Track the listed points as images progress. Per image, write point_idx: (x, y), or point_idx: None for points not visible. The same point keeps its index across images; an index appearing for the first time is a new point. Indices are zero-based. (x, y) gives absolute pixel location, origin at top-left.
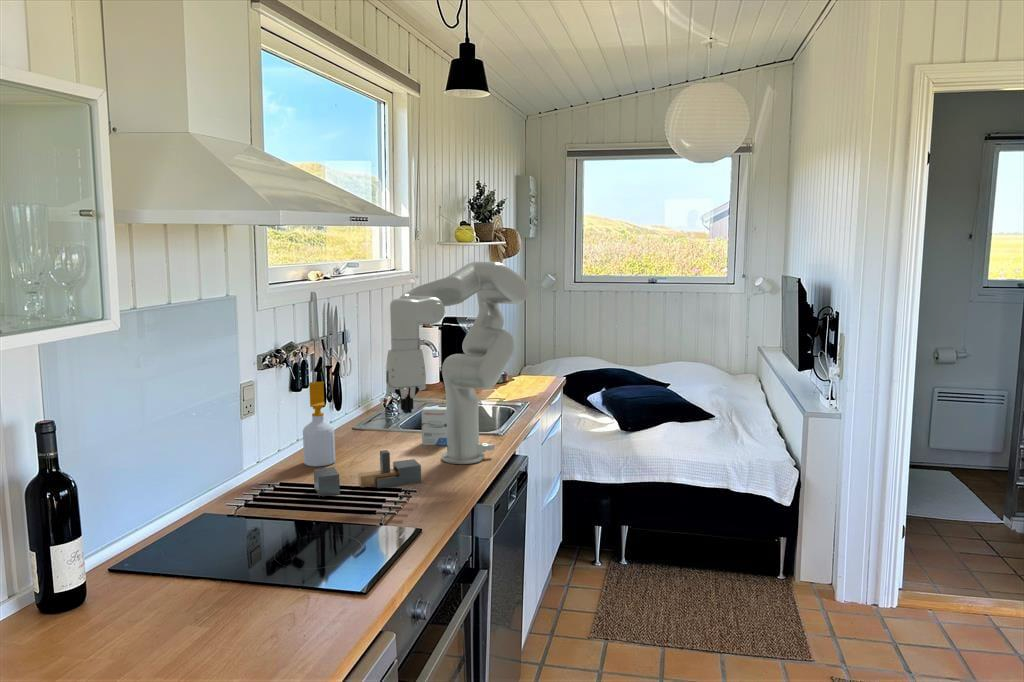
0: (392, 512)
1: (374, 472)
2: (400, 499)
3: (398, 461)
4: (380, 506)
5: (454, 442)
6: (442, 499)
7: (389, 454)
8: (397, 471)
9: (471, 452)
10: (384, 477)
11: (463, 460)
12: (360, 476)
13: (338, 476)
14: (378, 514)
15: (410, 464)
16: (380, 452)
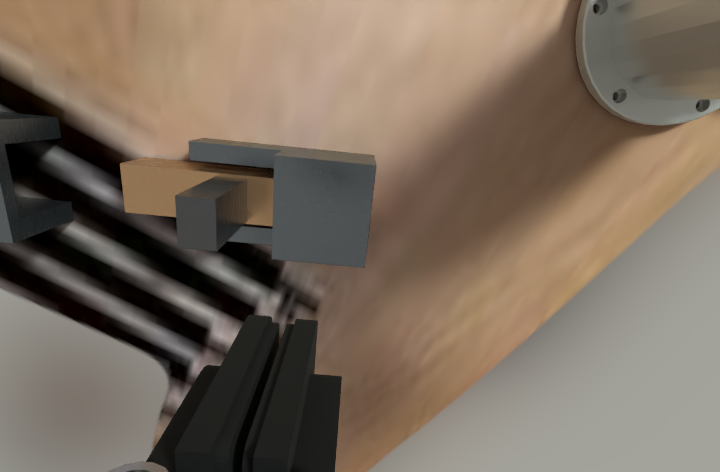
0: None
1: (187, 188)
2: None
3: (298, 165)
4: (182, 375)
5: (677, 53)
6: (358, 402)
7: (218, 248)
8: None
9: (700, 99)
10: None
11: (628, 111)
12: (125, 206)
13: (16, 241)
14: (166, 420)
15: (331, 235)
16: (177, 209)
